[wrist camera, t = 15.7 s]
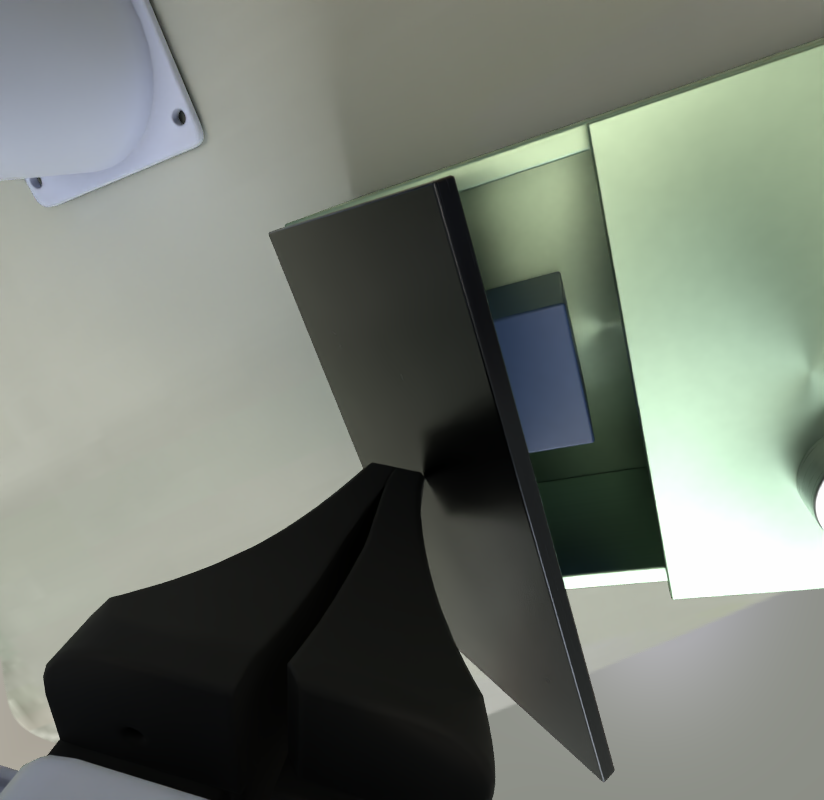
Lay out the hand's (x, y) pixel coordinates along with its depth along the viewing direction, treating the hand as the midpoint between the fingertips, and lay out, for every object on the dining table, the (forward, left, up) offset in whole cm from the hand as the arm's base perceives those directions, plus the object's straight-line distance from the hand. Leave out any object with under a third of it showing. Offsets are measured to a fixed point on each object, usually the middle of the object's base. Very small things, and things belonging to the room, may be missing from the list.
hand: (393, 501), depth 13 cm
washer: (0, +6, -10) cm, 11 cm away
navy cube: (0, +2, -9) cm, 9 cm away
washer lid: (0, +1, 0) cm, 1 cm away
